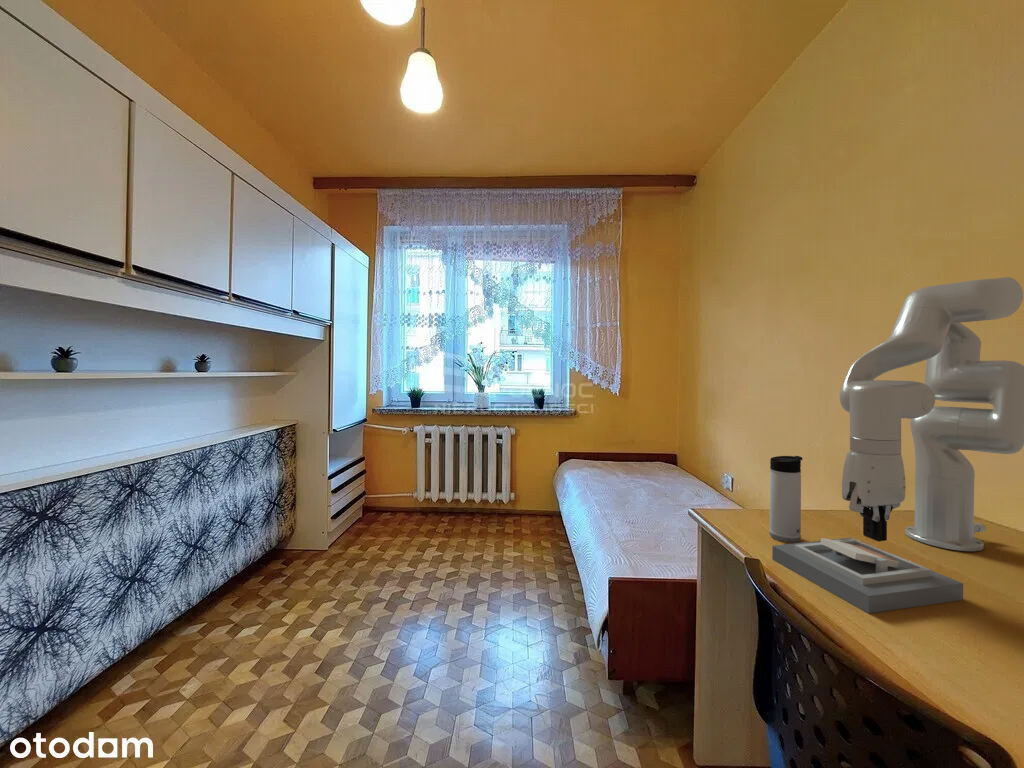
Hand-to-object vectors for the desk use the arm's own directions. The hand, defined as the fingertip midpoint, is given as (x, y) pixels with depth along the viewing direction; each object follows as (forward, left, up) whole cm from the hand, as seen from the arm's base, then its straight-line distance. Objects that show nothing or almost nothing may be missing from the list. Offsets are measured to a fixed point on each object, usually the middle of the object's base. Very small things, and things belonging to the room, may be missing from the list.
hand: (874, 538), depth 80 cm
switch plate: (+4, 0, -7) cm, 8 cm away
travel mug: (+2, -19, -8) cm, 20 cm away
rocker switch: (+4, 0, -2) cm, 5 cm away
